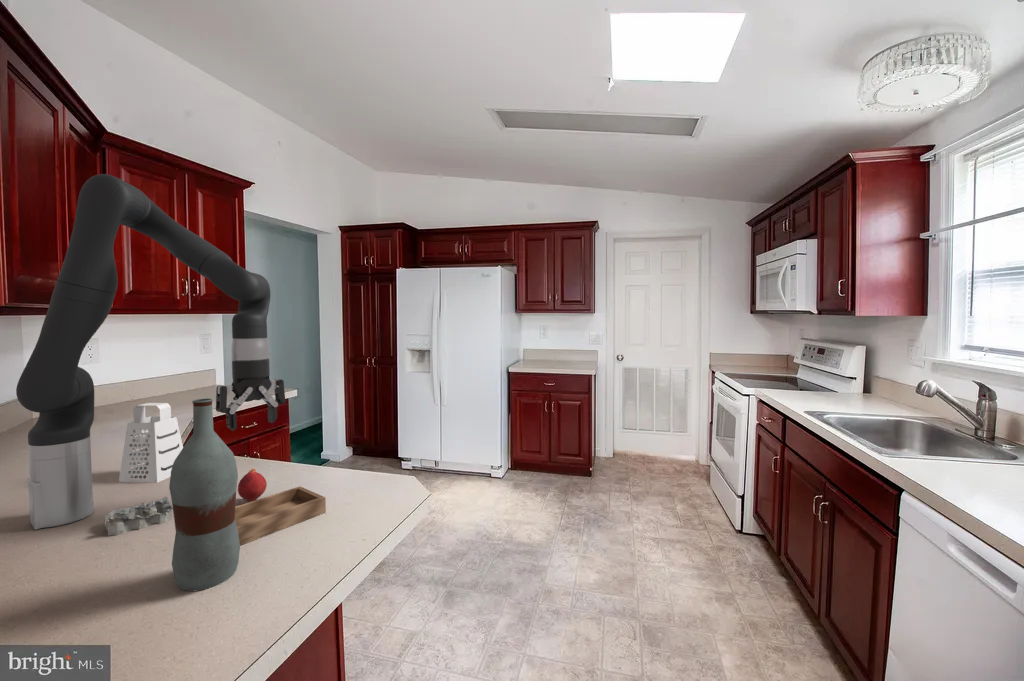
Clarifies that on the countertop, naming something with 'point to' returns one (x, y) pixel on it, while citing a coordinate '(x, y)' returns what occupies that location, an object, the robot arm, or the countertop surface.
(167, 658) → the countertop surface
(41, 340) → the robot arm
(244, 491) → the onion
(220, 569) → the bottle
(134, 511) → the egg carton
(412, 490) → the countertop surface
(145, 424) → the grater
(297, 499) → the wooden tray
